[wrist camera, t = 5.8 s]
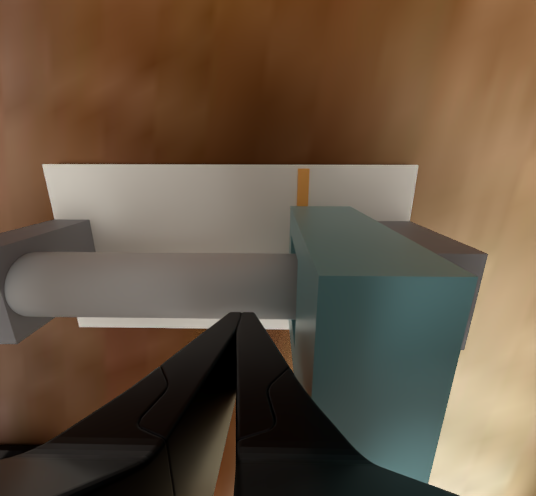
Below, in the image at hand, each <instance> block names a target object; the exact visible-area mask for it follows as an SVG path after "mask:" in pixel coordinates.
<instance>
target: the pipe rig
mask: <svg viewBox="0 0 536 496" xmlns="http://www.w3.org/2000/svg"><path fill="white" fill-rule="evenodd" d="M42 166H43V171H44V175H45V179H46V184H47V188H48V193H49V197H50V201H51V206H52V210H53V214H54V220H51V221H47V222H43V223H39V224H35V225H31V226H27V227H23V228H19V229H15V230H11V231H7V232H3V233H0V344H18V343H19V342H21V341H22V340H24V339H25V338H26V337H28V336H29V335H31V334H32V333H34V332H35V331H36V330H38V329H39V328H41V327H42V326H43V325H45V324H46V323H48V322H49V321H51V320H52V319H53V318H55V317H77V319H78V324H79V327H126V328H210V327H211V326H212V325H214V324H215V323H216V322H217V321H219V320H220V319H221V318H223V317H224V316H225V315H227V314H228V313H229V312H241V313H243V312H254V313H255V314H256V316H257V317H258V319H259V320H260V322H261V323H262V325H263V327H264V328H265V329H289V320H296V297H297V269H298V260H297V256H296V254H289V242H290V206H350V207H352V208H354V209H356V210H358V211H359V212H361V213H363V214H365V215H367V216H368V217H370V218H372V219H374V220H376V221H378V222H379V223H381V224H383V225H385V226H387V227H388V228H390V229H392V230H394V231H396V232H397V233H399V234H401V235H403V236H405V237H406V238H408V239H410V240H412V241H414V242H416V243H417V244H419V245H421V246H423V247H425V248H426V249H428V250H430V251H432V252H434V253H435V254H437V255H439V256H441V257H443V258H445V259H446V260H448V261H450V262H452V263H454V264H455V265H457V266H459V267H461V268H463V269H464V270H466V271H468V272H470V273H472V274H474V275H475V276H477V277H478V280H477V284H476V288H475V293H474V297H473V301H472V305H471V309H470V313H469V317H468V321H467V325H466V329H465V334H464V338H463V342H462V346H461V350H464V348H465V344H466V340H467V336H468V332H469V328H470V324H471V320H472V316H473V312H474V308H475V304H476V300H477V296H478V292H479V288H480V284H481V280H482V276H483V272H484V268H485V264H486V260H487V256H488V254H487V253H484V252H482V251H479V250H477V249H475V248H472V247H470V246H468V245H465V244H463V243H460V242H458V241H456V240H453V239H451V238H449V237H446V236H444V235H441V234H439V233H437V232H434V231H432V230H429V229H427V228H425V227H422V226H420V225H418V224H415V223H413V222H410V217H411V211H412V204H413V198H414V192H415V185H416V179H417V172H418V166H419V165H235V164H42Z"/></svg>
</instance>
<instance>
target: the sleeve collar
mask: <svg viewBox="0 0 536 496" xmlns="http://www.w3.org/2000/svg"><path fill="white" fill-rule="evenodd" d="M289 254H296V256H297V260H298V269H297V297H296V320H289V330H290V340H291V350H292V361H293V371H294V375H295V376H296V378H297V379H298V381H299V382H300V384H301V385H302V387H303V388H304V389H305V391H306V392H307V393H308V395H309V396H310V397H311V398H312V399H313V401H314V402H315V403H316V404H317V405H318V407H319V408H320V409H321V410H322V411H323V412H324V414H325V415H326V416H327V417H328V418H329V419H330V420H331V422H332V423H333V424H334V425H335V426H336V427H337V429H338V430H339V431H340V432H341V433H342V434H343V435H344V437H345V438H346V439H347V440H348V441H349V442H350V443H351V445H352V446H353V447H354V448H355V449H356V450H357V451H358V452H359V453H360V454H362V455H363V456H364V457H365V458H367V459H368V460H369V461H370V462H372V463H374V464H376V465H378V466H380V467H383V468H386V469H388V470H391V471H394V472H397V473H399V474H402V475H405V476H407V477H410V478H413V479H416V480H418V481H421V482H424V483H427V484H428V481H429V477H430V473H431V469H432V465H433V460H434V456H435V452H436V448H437V444H438V440H439V436H440V432H441V428H442V424H443V420H444V415H445V411H446V407H447V403H448V399H449V395H450V391H451V387H452V383H453V379H454V374H455V370H456V366H457V362H458V358H459V354H460V350H461V346H462V342H463V338H464V334H465V329H466V325H467V321H468V317H469V313H470V309H471V305H472V301H473V297H474V293H475V288H476V284H477V280H478V277H477V276H475V275H474V274H472V273H470V272H468V271H466V270H464V269H463V268H461V267H459V266H457V265H455V264H454V263H452V262H450V261H448V260H446V259H445V258H443V257H441V256H439V255H437V254H435V253H434V252H432V251H430V250H428V249H426V248H425V247H423V246H421V245H419V244H417V243H416V242H414V241H412V240H410V239H408V238H406V237H405V236H403V235H401V234H399V233H397V232H396V231H394V230H392V229H390V228H388V227H387V226H385V225H383V224H381V223H379V222H378V221H376V220H374V219H372V218H370V217H368V216H367V215H365V214H363V213H361V212H359V211H358V210H356V209H354V208H352V207H350V206H290V242H289Z"/></svg>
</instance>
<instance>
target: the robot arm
mask: <svg viewBox="0 0 536 496" xmlns="http://www.w3.org/2000/svg"><path fill="white" fill-rule="evenodd" d="M235 399H236V472H235V485H234V496H459V495H457V494H454V493H451V492H449V491H446V490H443V489H440V488H438V487H435V486H432V485H429V484H427V483H424V482H421V481H418V480H416V479H413V478H410V477H407V476H405V475H402V474H399V473H397V472H394V471H391V470H388V469H386V468H383V467H380V466H378V465H376V464H374V463H372V462H370V461H369V460H368V459H367V458H365V457H364V456H363V455H362V454H360V453H359V452H358V451H357V450H356V449H355V448H354V447H353V446H352V445H351V443H350V442H349V441H348V440H347V439H346V438H345V437H344V435H343V434H342V433H341V432H340V431H339V430H338V429H337V427H336V426H335V425H334V424H333V423H332V422H331V420H330V419H329V418H328V417H327V416H326V415H325V414H324V412H323V411H322V410H321V409H320V408H319V407H318V405H317V404H316V403H315V402H314V401H313V399H312V398H311V397H310V396H309V395H308V393H307V392H306V391H305V389H304V388H303V387H302V385H301V384H300V382H299V381H298V379H297V378H296V376H295V375H294V373H293V372H292V370H291V369H290V367H289V366H288V364H287V363H286V361H285V359H284V358H283V356H282V355H281V353H280V352H279V350H278V348H277V347H276V345H275V344H274V342H273V341H272V339H271V337H270V336H269V334H268V333H267V331H266V330H265V328H264V327H263V325H262V323H261V322H260V320H259V319H258V317H257V316H256V314H255V313H254V312H243V313H241V312H229V313H228V314H227V315H225V316H224V317H223V318H221V319H220V320H219V321H217V322H216V323H215V324H214V325H212V326H211V327H210V328H208V329H207V330H206V331H205V332H203V333H202V334H201V335H199V336H198V337H197V338H195V339H194V340H193V341H192V342H190V343H189V344H188V345H186V346H185V347H184V348H182V349H181V350H180V351H179V352H177V353H176V354H175V355H173V356H172V357H171V358H170V359H168V360H167V361H166V362H164V363H163V364H162V365H161V366H160V367H158V368H156V369H155V370H154V371H153V372H151V373H150V374H149V375H147V376H146V377H145V378H143V379H142V380H140V381H139V382H138V383H136V384H135V385H134V386H132V387H131V388H129V389H128V390H126V391H125V392H123V393H122V394H121V395H119V396H118V397H116V398H115V399H113V400H112V401H110V402H109V403H107V404H106V405H104V406H102V407H101V408H99V409H98V410H96V411H95V412H93V413H92V414H90V415H89V416H87V417H86V418H84V419H82V420H81V421H79V422H78V423H76V424H75V425H73V426H72V427H70V428H69V429H67V430H66V431H64V432H62V433H61V434H59V435H58V436H56V437H55V438H53V439H51V440H50V441H48V442H46V443H45V444H43V445H41V446H10V445H0V496H213V494H214V490H215V485H216V481H217V477H218V472H219V468H220V464H221V459H222V455H223V451H224V446H225V442H226V438H227V433H228V429H229V425H230V420H231V416H232V412H233V407H234V403H235Z"/></svg>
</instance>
